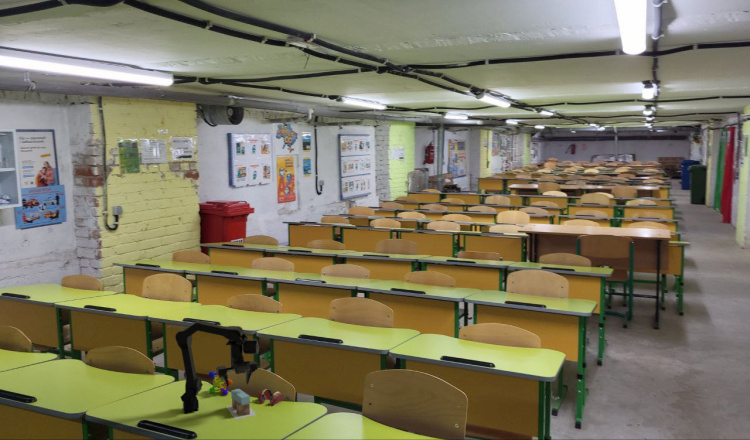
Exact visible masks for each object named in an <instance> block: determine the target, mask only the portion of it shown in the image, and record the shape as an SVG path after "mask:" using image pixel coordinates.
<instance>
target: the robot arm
mask: <svg viewBox="0 0 750 440" xmlns="http://www.w3.org/2000/svg"><path fill="white" fill-rule="evenodd" d="M196 332H203V333H206V334H207V333H208V334H211V335H217V336H221V337H223V338H225V339H227V340H228V341H227V342H226V343H225V345H226V346H229V347H230V348H229V349H230V350H229V351H230V355H229V357H230V366H228V367H226V365H220V366H217V367H216V368H215V373H217V374H218V375H217V377H219V376H221V377H223V378H224V379H223V380H224V382H225V383H226V384H225V385H227V387H228V389H229V388H230V385H229V384H228V379H229V378H228V377H229V375H228V372H232V371H234V372H235V374H236V375H240V374H246V375H245V382H246V385H249V381H250V379H251V376H252V374H253V373H254V372H256V371H257V370H259V366H258V363H257V361H256V362H255V360H250V361H248V360H247V361H245V359H244V354H245V355H259V352H260V344H259V341H258V340H259V339H257V338H255V339H249V337H248V336H247V335H246V334H245V333H244V329H243V328H242V326H239V325H228V326H224V325H220V324H214V323H211V322H210V323H209V322H205V321H202V320H197V321H195V322H194V323H193V324H192V325H190V326H189V327H184V328H182V329H180V330H179V331H177V333H176V334H175V336H174V337H175V341H176V343H177V346H178V347H179V348H180V350H181V356H182V362H183V366H184V367H183V368H184V372H185V378H186V379H185V385H184V389H185V390H184V391H185V392H184V393H183V394H182V395H181V396H180V400H181V402H182V409H181V410H182V412H183V413H184V415H186V414H190V413H195V412H199V409H200V408H199V407H200V405H199V399H198V397H197V396H198V395H199V393H200V392H201V390H202V388H203V386H204V385H203V384H204V383H203V382H202V377H198V375H197V373H196V372H197V371H196V367H195V361H194V355H193V350H192V343H193V334H195V333H196Z"/></svg>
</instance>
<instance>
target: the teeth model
mask: <svg viewBox="0 0 750 440" xmlns="http://www.w3.org/2000/svg"><path fill="white" fill-rule="evenodd" d="M284 397H285V395H284V394H282V393H281V392H280V391H276V392H274V393H273V392H272V390H271V389H269V388H266V389H262V390H260V391H259V392H258V395H257V400H258V403H259V404H263V403H265V402H266V401H267V400H268V401H269V402H270V406H272V407H274V406H275V405H277V404H279V403H280V402H283V401H284V399H285V398H284Z"/></svg>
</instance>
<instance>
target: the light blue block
mask: <svg viewBox="0 0 750 440" xmlns="http://www.w3.org/2000/svg"><path fill="white" fill-rule="evenodd" d="M230 393H231V399H232V398H233V399H234V400H235V401H237V402H238V403H240V404H241V405H245V404H251V395H249V394H248V393H247V392H245V391H243V390H241V389H240V388H236V389H233V390H231V391H230Z"/></svg>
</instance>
